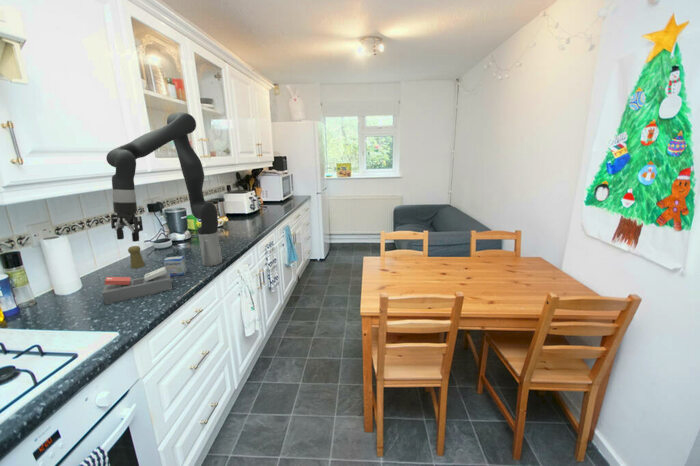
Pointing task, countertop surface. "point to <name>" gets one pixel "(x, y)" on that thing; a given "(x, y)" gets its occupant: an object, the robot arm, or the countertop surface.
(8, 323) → the countertop surface
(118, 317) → the countertop surface
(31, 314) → the countertop surface
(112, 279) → the block
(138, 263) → the cork
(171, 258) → the medicine box
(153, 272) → the white rocker
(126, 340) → the countertop surface
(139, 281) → the rocker switch panel
